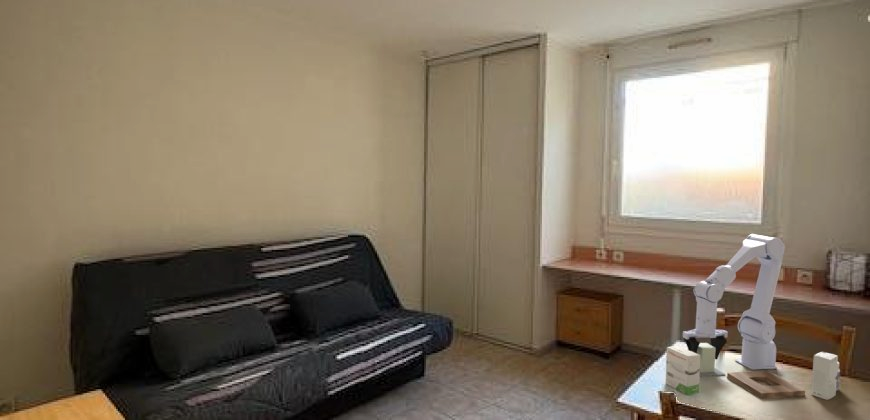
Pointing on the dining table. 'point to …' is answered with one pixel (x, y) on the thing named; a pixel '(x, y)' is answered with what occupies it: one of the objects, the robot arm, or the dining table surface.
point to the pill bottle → (838, 377)
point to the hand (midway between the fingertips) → (703, 358)
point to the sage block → (706, 357)
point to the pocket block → (777, 390)
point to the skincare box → (824, 375)
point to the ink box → (682, 369)
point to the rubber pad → (711, 373)
